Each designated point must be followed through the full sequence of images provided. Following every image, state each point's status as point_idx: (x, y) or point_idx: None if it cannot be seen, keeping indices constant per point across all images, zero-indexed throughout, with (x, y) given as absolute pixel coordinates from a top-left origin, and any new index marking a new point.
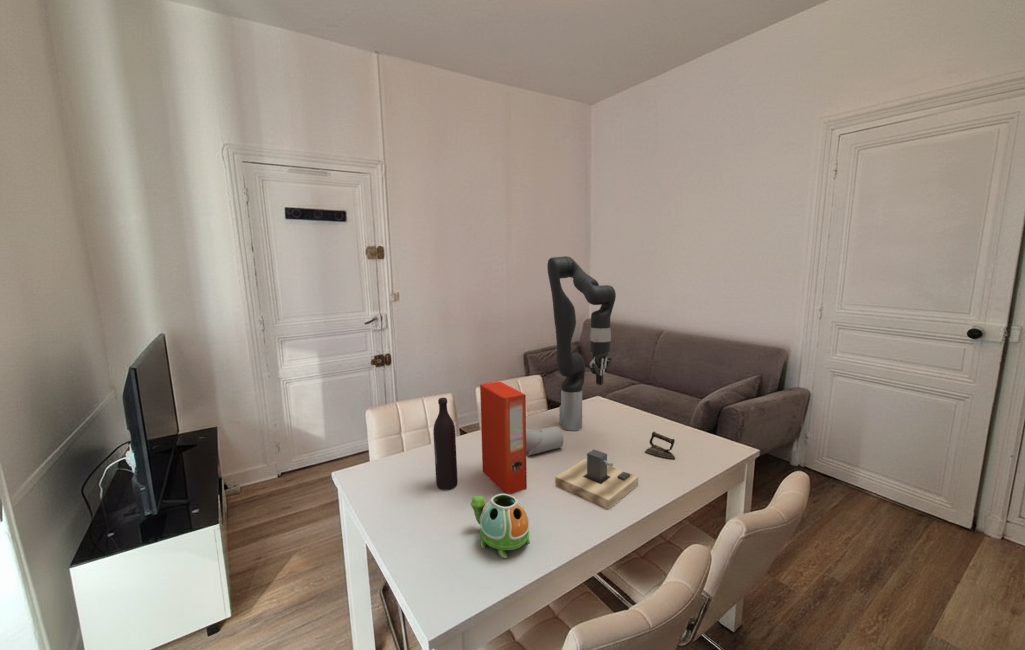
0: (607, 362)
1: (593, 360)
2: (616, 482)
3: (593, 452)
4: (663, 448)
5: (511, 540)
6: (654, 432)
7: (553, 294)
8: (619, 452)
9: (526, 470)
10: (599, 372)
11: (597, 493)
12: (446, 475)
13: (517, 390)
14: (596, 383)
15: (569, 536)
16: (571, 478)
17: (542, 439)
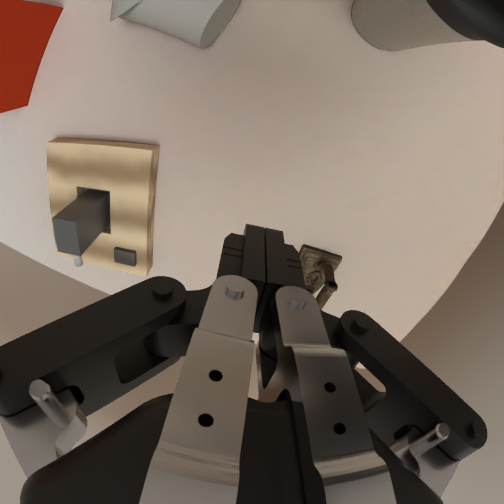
0: (386, 440)
1: (30, 468)
2: (102, 249)
3: (63, 228)
4: (322, 283)
5: None
6: (330, 290)
7: None
8: (276, 191)
9: (2, 112)
10: (177, 359)
11: None
12: None
13: None
14: (246, 225)
15: (6, 225)
16: (59, 172)
17: (133, 14)
